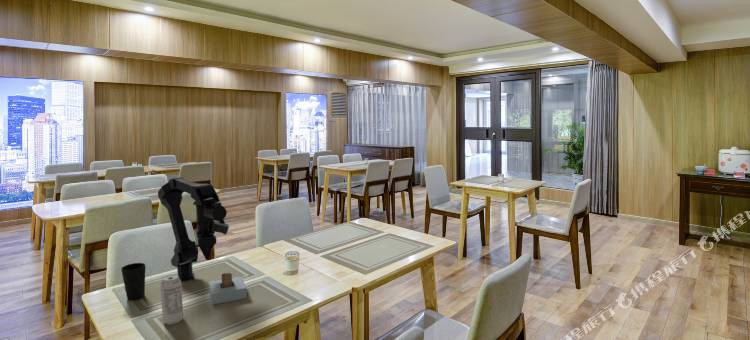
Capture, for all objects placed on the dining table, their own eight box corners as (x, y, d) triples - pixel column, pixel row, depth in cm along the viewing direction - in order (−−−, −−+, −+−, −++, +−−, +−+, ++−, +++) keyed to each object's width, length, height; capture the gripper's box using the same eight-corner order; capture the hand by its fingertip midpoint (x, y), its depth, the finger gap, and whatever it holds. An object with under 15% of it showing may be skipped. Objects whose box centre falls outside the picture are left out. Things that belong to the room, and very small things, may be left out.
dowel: (222, 294, 153) (221, 273, 152) (232, 292, 155) (231, 272, 153) (223, 297, 150) (222, 277, 149) (233, 295, 151) (232, 275, 150)
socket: (209, 291, 155) (208, 281, 154) (241, 286, 160) (241, 276, 160) (212, 304, 144) (211, 294, 144) (246, 298, 149) (246, 287, 149)
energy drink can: (183, 314, 137) (180, 272, 135) (184, 322, 132) (181, 279, 130) (163, 319, 134) (159, 276, 132) (163, 327, 129) (160, 282, 127)
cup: (120, 303, 145) (118, 271, 144) (127, 294, 153) (125, 263, 151) (144, 300, 148) (142, 269, 146) (150, 291, 155) (147, 261, 153)
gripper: (229, 220, 150) (231, 260, 152) (224, 209, 166) (226, 246, 168) (197, 223, 145) (199, 265, 147) (194, 212, 162) (197, 250, 164)
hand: (206, 256), depth 157 cm, fingers open, 9 cm apart
